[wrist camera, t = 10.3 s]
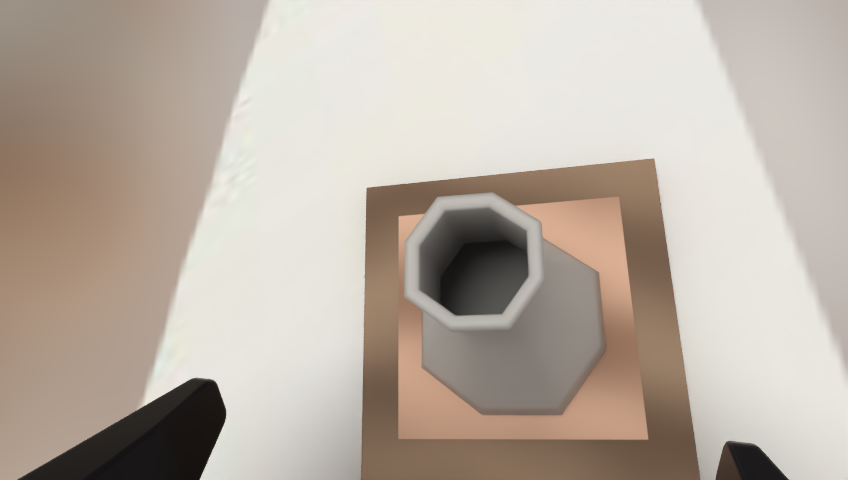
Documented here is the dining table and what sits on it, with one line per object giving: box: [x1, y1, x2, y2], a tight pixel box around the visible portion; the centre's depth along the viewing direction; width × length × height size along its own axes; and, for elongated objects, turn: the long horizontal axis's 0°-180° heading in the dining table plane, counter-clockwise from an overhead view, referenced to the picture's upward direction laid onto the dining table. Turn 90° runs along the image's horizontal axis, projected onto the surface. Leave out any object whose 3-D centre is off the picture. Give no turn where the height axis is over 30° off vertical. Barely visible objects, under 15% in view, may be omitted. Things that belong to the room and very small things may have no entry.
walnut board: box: [361, 159, 700, 480], centre depth 21 cm, size 19×12×1 cm, turn 1°
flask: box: [404, 192, 606, 415], centre depth 17 cm, size 7×7×10 cm
